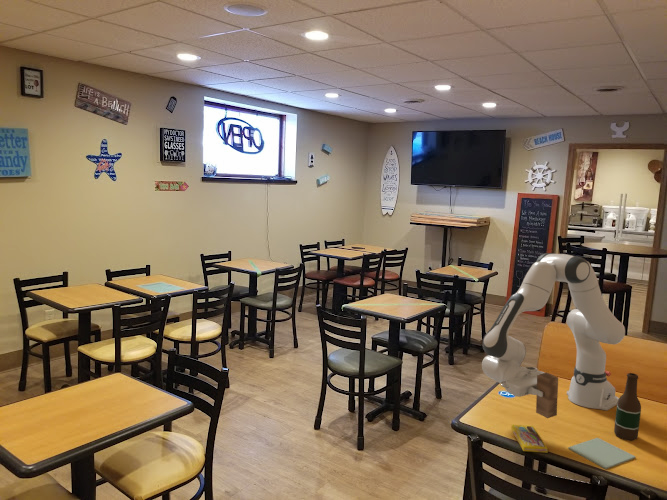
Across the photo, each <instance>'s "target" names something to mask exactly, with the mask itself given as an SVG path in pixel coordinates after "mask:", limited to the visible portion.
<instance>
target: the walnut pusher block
mask: <svg viewBox="0 0 667 500" xmlns="http://www.w3.org/2000/svg"><path fill="white" fill-rule="evenodd" d="M537 390H542V391H544V392H545V396H543V397H540V396H538V395H536V401H535V402H536V403H535V405H536V406H535V407H536V408H535V412H536V413H537V414H538V415H540V416H542V417H544V418H546V419H550V418H553V417H556V416H557V414H558V396H559V395H558V394H559V393H558V390H559V377H558V376H556V375H554V374H551V373H549V372H544V373H543V374H539V375H537Z"/></svg>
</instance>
